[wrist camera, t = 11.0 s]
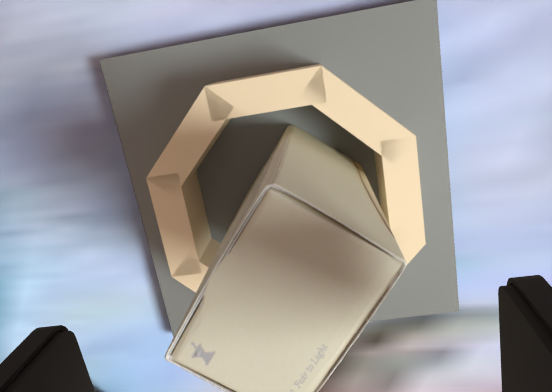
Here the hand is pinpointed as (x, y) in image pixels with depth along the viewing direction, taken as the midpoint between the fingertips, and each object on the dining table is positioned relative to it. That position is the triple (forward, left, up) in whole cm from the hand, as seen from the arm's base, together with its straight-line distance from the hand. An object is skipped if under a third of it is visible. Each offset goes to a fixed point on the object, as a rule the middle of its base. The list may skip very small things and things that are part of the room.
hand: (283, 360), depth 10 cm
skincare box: (0, 0, -15) cm, 15 cm away
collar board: (+1, 0, -16) cm, 16 cm away
